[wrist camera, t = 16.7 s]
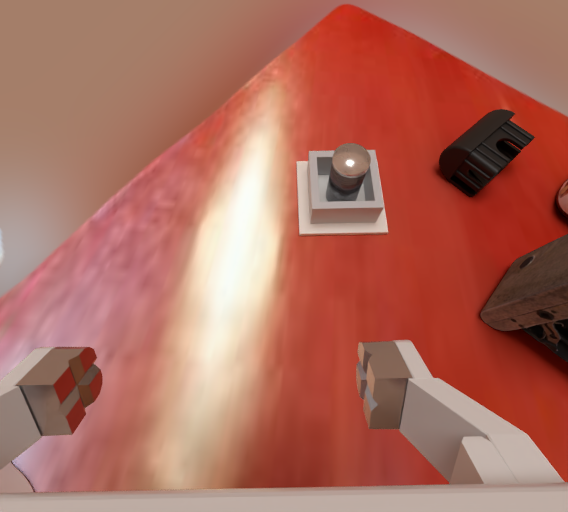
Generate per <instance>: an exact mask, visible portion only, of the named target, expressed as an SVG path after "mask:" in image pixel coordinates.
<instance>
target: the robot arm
mask: <svg viewBox="0 0 568 512" xmlns="http://www.w3.org/2000/svg"><path fill="white" fill-rule="evenodd" d="M358 355H359V358H360V361H359V362H358V364H357V367H356V379H357V387H358V392H359V395H360V397H361V398H362V399H363V400H364V407H363V410H364V413H365V416H366V420H367V423H368V427H369V429H400V430H399V431H400V432H401V433H402V434H403V435H404V436H405V437H406V438H407V439H408V440H409V441H410V442H411V443H412V444H413V445H414V446H415V447H416V448H417V449H418V450H419V451H420V453H421V454H422V455H423V456H424V457H425V458H426V459H427V460H428V461H429V462H430V463H431V464H432V465H433V466H434V467H435V468H436V469H437V470H438V471H439V472H440V473H441V474H442V475H443V476H444V477H445V478H446V479H447V481H448V482H449V483H450V484H449V485H398V486H342V487H289V488H236V489H182V490H128V491H74V492H33V489H32V487H31V485H30V484H29V482H28V481H27V479H26V478H25V477H24V475H23V474H22V473H21V472H20V471H19V470H18V469H16V468H15V467H14V466H13V464H12V463H11V461H12V460H14V459H15V458H16V457H18V456H19V455H20V454H21V453H23V452H24V451H25V450H26V449H28V448H29V447H30V446H32V445H33V444H34V443H35V442H37V441H38V440H39V439H40V438H41V436H51V435H72V434H73V433H74V431H75V430H76V428H77V427H78V425H79V424H80V422H81V421H82V419H83V418H84V416H85V415H86V412H85V408H86V407H87V406H89V405H90V404H92V403H93V402H94V401H95V400H96V398H97V397H98V395H99V394H100V390H101V387H102V373H101V370H100V369H99V368H98V367H97V366H96V365H95V364H94V362H95V360H96V358H97V357H96V354H95V351H94V349H92V348H90V347H40V348H37V349H35V350H34V351H32V352H31V353H30V354H29V355H28V356H27V357H26V358H25V359H24V360H23V361H22V362H20V363H19V364H18V365H17V366H16V367H15V368H14V369H13V370H12V371H11V372H10V373H8V374H7V375H6V376H5V377H4V378H3V379H2V380H1V381H0V512H568V482H564V481H563V479H562V478H561V477H560V476H559V474H558V473H557V472H556V470H555V469H554V468H553V467H552V465H551V464H550V463H549V461H548V460H547V459H546V458H545V456H544V455H543V454H542V452H541V451H540V450H539V449H538V447H537V446H536V445H535V444H534V442H533V441H532V440H531V438H530V437H529V436H528V435H527V434H526V433H524V432H523V431H521V430H520V429H518V428H516V427H515V426H513V425H512V424H510V423H509V422H507V421H505V420H504V419H502V418H501V417H499V416H498V415H496V414H494V413H493V412H491V411H490V410H488V409H486V408H485V407H483V406H482V405H480V404H479V403H477V402H475V401H474V400H472V399H471V398H469V397H468V396H466V395H464V394H463V393H461V392H460V391H458V390H456V389H455V388H453V387H452V386H450V385H449V384H447V383H445V382H444V381H442V380H441V379H439V378H433V377H432V375H431V373H430V372H429V370H428V368H427V367H426V365H425V363H424V362H423V360H422V358H421V357H420V355H419V353H418V352H417V350H416V348H415V347H414V345H413V343H412V342H411V341H410V340H395V341H378V342H359V346H358Z"/></svg>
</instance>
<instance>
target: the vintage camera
mask: <svg viewBox="0 0 568 512" xmlns="http://www.w3.org/2000/svg"><path fill="white" fill-rule="evenodd" d="M480 315H481V318H482V320H483V321H484V322H485V323H486V324H488V325H489V326H491V327H493V328H494V329H498V330H501V331H511V330H517V329H522V330H524V331H525V332H527V333H528V334H529V335H530V336H532V337H533V338H535V339H536V340H537V341H539V342H541V343H543V344H544V345H546V346H547V347H548V348H549V349H550V350H551V351H553V352H554V353H555V354H556V355H558V356H559V357H561V358H562V359H564V360H565V361H566V362H568V234H567V235H565V236H563V237H561V238H558V239H556V240H554V241H552V242H550V243H548V244H546V245H544V246H542V247H540V248H538V249H536V250H534V251H532V252H530V253H528V254H526V255H524V256H522V257H520V258H518V259H516V260H515V261H514V262H513V263H512V265H511V267H510V268H509V270H508V271H507V273H506V274H505V276H504V277H503V279H502V281H501V282H500V284H499V285H498V287H497V288H496V289H495V291H494V292H493V294H492V296H491V297H490V299H489V300H488V302H487V304H486V305H485V306H484V308H483V309H482V311H481V313H480Z"/></svg>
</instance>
